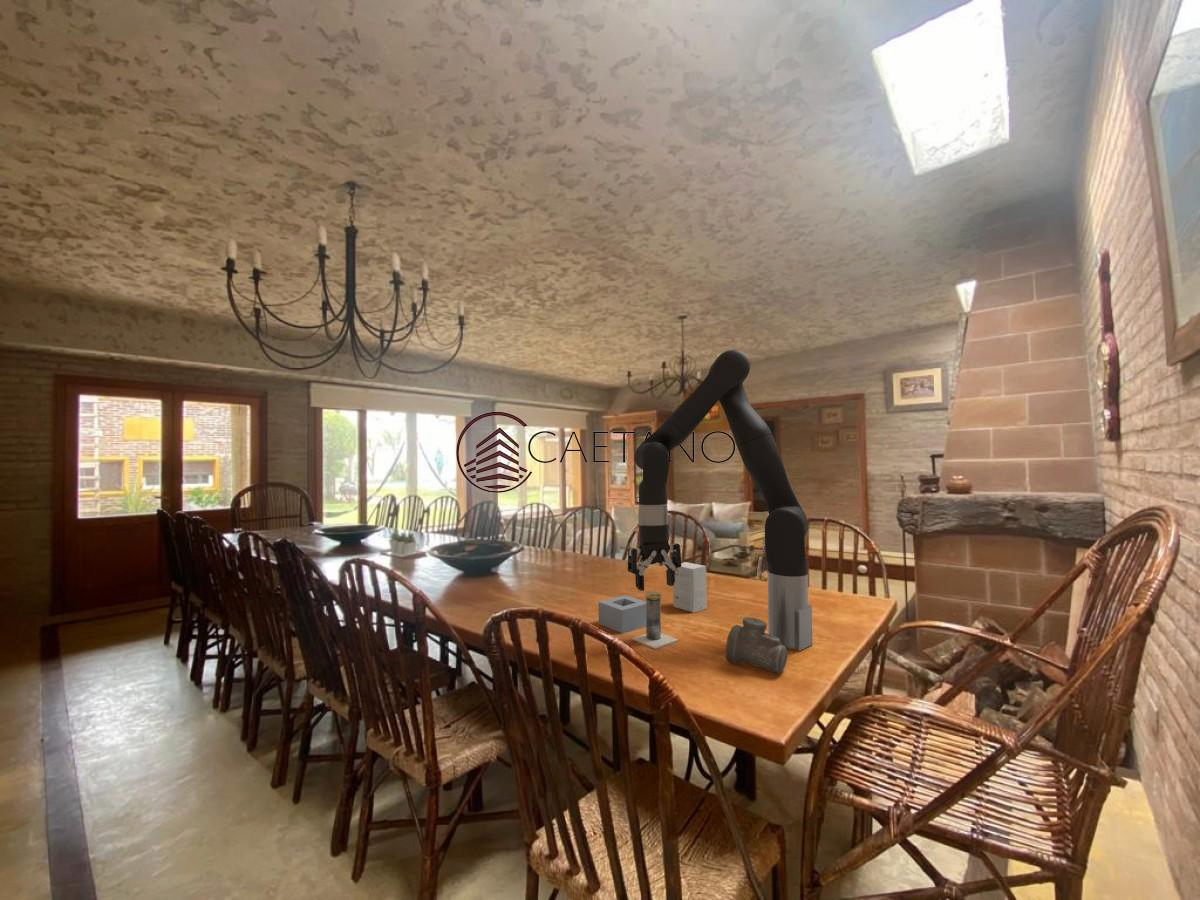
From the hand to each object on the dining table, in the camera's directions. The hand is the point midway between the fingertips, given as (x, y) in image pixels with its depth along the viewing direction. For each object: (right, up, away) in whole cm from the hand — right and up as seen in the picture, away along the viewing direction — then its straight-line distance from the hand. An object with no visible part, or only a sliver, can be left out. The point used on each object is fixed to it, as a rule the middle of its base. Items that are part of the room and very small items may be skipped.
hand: (655, 587), depth 121 cm
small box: (+14, -14, +27) cm, 33 cm away
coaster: (0, -13, +1) cm, 13 cm away
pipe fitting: (+20, -13, -15) cm, 29 cm away
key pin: (0, -13, +2) cm, 13 cm away
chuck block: (-7, -14, +13) cm, 20 cm away
